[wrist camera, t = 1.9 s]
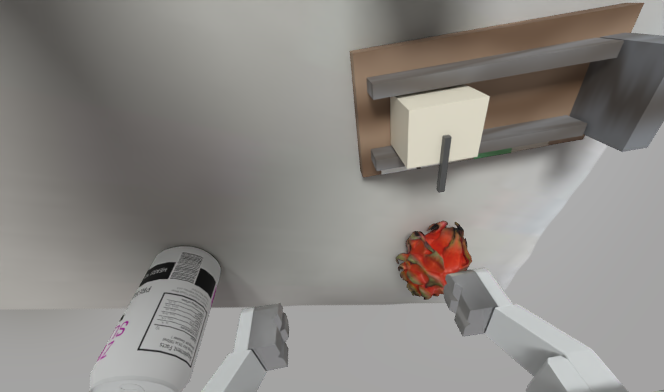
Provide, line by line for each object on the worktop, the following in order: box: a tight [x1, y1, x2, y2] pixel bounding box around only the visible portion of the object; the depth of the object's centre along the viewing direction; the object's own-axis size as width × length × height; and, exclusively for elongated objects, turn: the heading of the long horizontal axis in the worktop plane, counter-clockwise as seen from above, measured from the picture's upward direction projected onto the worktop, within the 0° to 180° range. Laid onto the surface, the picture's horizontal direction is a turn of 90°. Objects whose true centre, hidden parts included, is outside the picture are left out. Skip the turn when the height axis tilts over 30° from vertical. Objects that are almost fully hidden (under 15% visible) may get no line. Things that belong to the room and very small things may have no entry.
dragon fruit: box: [396, 221, 472, 300], centre depth 35 cm, size 8×8×12 cm
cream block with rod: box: [390, 84, 490, 192], centre depth 24 cm, size 8×6×6 cm
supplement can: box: [89, 246, 221, 392], centre depth 30 cm, size 8×8×15 cm
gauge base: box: [350, 3, 664, 177], centre depth 23 cm, size 12×24×8 cm, turn 98°
